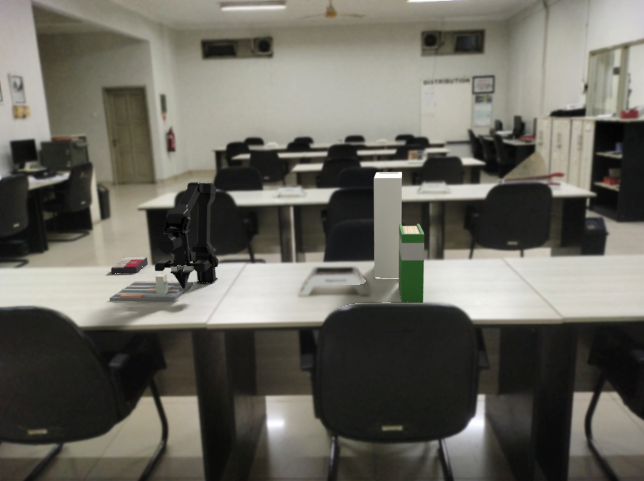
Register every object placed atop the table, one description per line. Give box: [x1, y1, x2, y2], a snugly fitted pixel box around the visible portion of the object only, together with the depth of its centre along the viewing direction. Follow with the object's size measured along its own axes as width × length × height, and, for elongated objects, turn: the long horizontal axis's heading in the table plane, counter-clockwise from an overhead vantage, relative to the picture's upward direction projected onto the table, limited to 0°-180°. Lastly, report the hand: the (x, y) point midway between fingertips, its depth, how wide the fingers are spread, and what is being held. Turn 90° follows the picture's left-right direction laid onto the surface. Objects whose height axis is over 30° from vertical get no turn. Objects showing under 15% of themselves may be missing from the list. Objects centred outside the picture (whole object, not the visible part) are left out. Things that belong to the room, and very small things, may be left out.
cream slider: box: [154, 273, 168, 283], centre depth 202 cm, size 3×4×4 cm
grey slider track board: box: [109, 280, 194, 303], centre depth 199 cm, size 24×20×2 cm
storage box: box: [373, 171, 403, 278], centre depth 214 cm, size 21×10×40 cm, turn 172°
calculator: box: [110, 256, 149, 275], centre depth 233 cm, size 11×4×15 cm
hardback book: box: [398, 223, 425, 303], centre depth 188 cm, size 18×7×24 cm, turn 175°
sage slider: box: [156, 280, 169, 294], centre depth 193 cm, size 3×4×4 cm
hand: (184, 288), depth 192 cm, fingers closed
